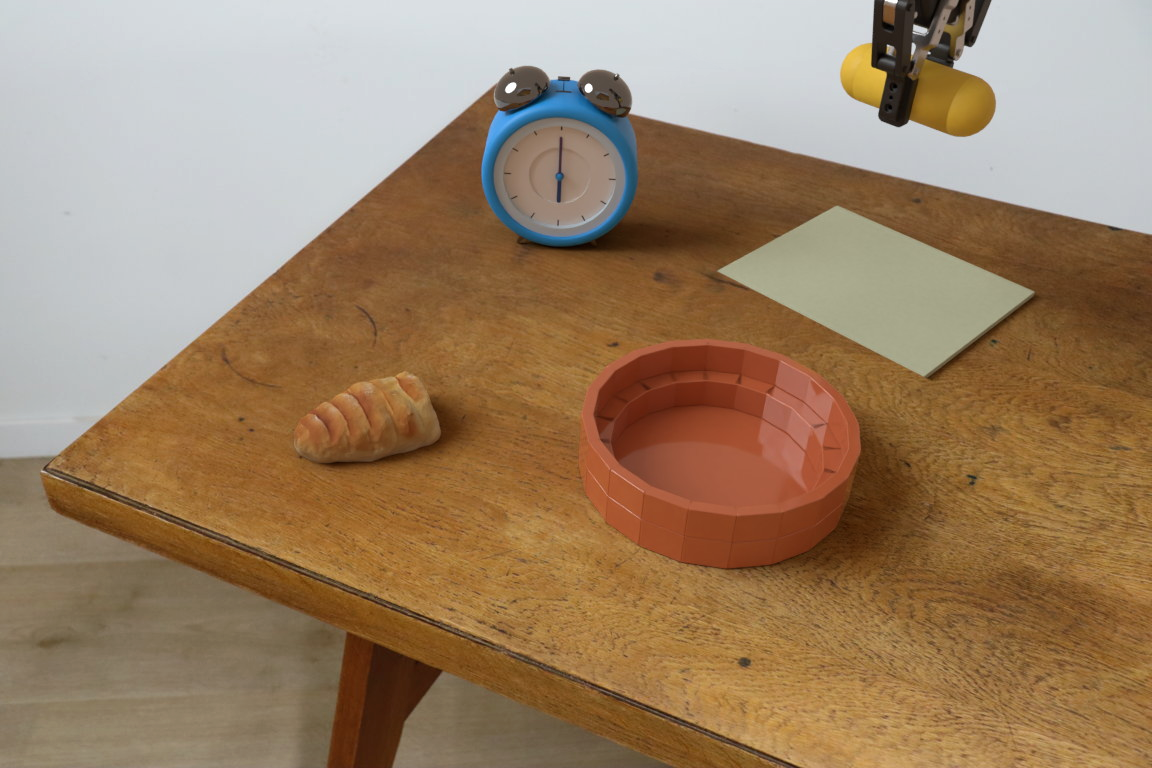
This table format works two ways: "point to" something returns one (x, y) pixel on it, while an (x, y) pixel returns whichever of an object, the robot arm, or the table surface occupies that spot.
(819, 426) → the bowl
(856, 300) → the mat
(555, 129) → the alarm clock
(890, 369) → the table surface
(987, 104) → the yellow capsule
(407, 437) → the pastry
